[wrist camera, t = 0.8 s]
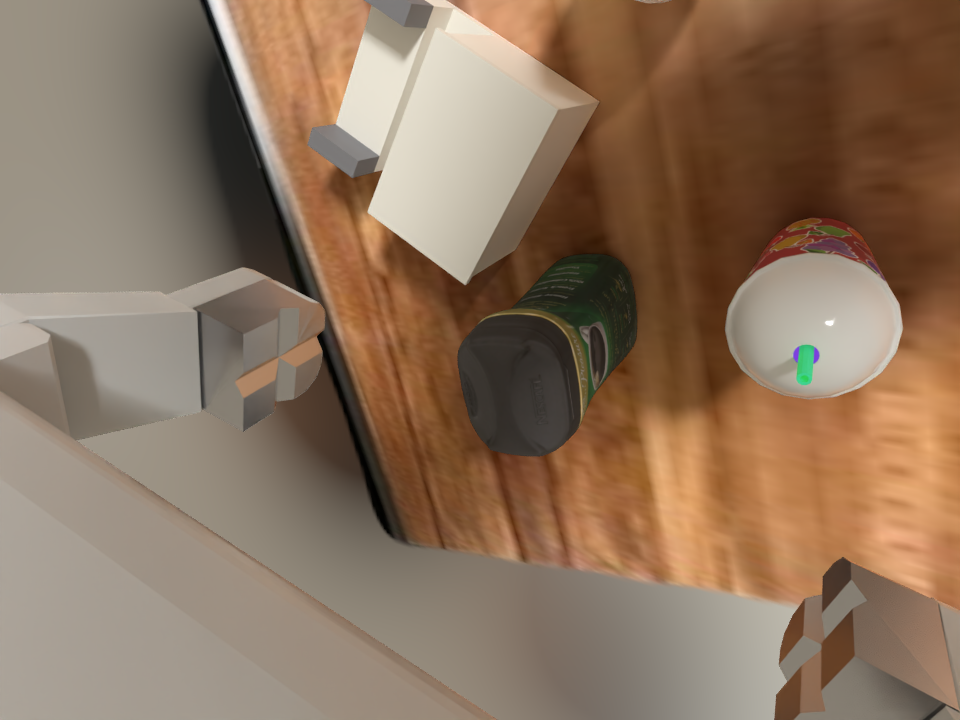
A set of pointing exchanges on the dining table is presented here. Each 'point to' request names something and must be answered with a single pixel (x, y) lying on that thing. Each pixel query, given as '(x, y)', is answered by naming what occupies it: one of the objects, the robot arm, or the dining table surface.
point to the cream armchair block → (452, 131)
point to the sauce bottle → (653, 1)
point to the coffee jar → (548, 355)
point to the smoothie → (814, 313)
